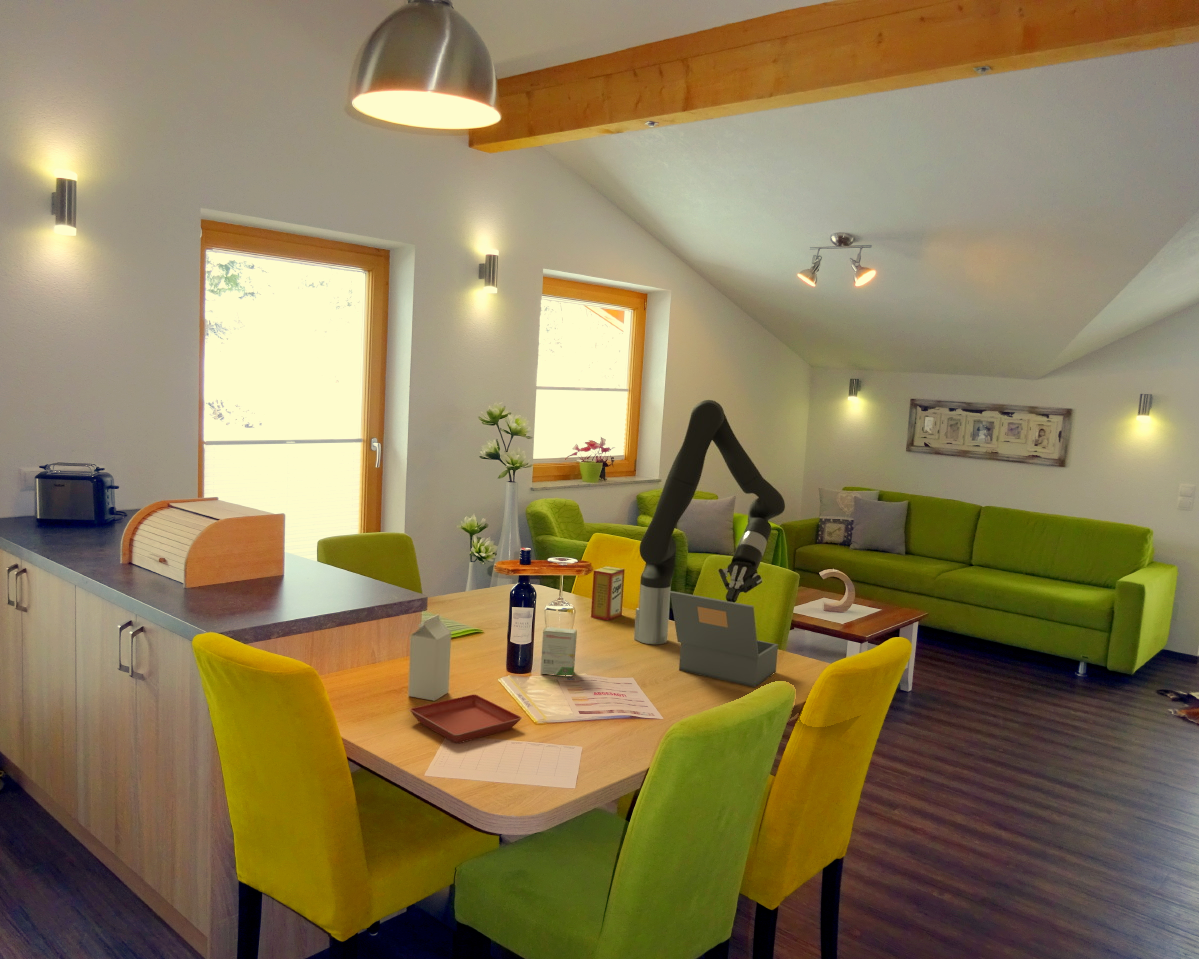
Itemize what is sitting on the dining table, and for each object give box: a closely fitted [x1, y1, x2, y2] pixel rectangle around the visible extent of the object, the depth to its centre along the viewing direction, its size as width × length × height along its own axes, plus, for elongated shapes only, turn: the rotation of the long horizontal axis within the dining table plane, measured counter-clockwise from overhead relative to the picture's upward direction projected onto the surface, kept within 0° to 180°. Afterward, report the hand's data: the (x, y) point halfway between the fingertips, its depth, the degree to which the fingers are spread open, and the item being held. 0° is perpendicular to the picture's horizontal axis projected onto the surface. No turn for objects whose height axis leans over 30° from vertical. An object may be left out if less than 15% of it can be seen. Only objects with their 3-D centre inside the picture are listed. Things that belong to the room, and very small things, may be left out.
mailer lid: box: [670, 590, 759, 659], centre depth 243 cm, size 23×16×1 cm
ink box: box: [540, 626, 578, 676], centre depth 244 cm, size 9×5×12 cm, turn 84°
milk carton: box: [407, 613, 452, 702], centre depth 222 cm, size 7×7×19 cm
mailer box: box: [678, 639, 779, 688], centre depth 255 cm, size 22×16×8 cm
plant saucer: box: [409, 693, 522, 744], centre depth 205 cm, size 18×18×3 cm
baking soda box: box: [590, 565, 625, 621], centre depth 307 cm, size 10×6×16 cm
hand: (729, 601), depth 251 cm, fingers closed
